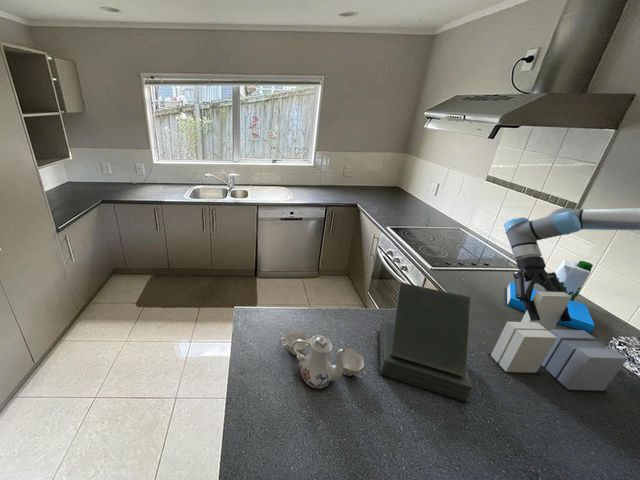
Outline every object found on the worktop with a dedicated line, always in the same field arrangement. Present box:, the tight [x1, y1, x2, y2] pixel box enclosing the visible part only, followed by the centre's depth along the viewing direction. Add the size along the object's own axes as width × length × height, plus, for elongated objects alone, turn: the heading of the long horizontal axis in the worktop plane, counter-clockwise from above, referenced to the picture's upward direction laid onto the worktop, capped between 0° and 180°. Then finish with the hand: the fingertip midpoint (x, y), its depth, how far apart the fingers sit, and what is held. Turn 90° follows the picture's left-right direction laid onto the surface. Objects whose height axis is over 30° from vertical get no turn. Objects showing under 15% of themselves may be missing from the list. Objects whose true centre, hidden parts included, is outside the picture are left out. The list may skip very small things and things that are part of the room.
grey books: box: [541, 328, 629, 392], centre depth 88 cm, size 12×11×14 cm
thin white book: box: [520, 290, 572, 332], centre depth 98 cm, size 2×10×15 cm, turn 90°
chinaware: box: [279, 329, 367, 390], centre depth 86 cm, size 28×17×17 cm, turn 70°
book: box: [506, 281, 595, 335], centre depth 120 cm, size 17×4×25 cm
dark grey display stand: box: [378, 281, 473, 402], centre depth 88 cm, size 23×20×25 cm
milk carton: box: [555, 259, 594, 301], centre depth 124 cm, size 9×9×20 cm
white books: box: [490, 321, 557, 374], centre depth 91 cm, size 6×10×15 cm, turn 90°
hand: (551, 320), depth 96 cm, fingers closed on thin white book, 10 cm apart
